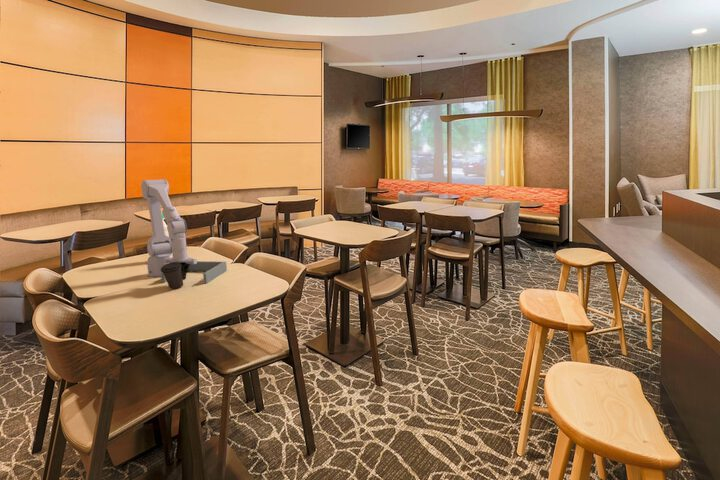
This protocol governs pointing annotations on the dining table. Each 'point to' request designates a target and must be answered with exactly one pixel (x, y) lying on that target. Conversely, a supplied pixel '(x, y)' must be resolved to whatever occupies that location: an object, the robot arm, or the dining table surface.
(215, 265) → the gray rectangular arch
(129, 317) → the dining table surface
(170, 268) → the coffee cup
